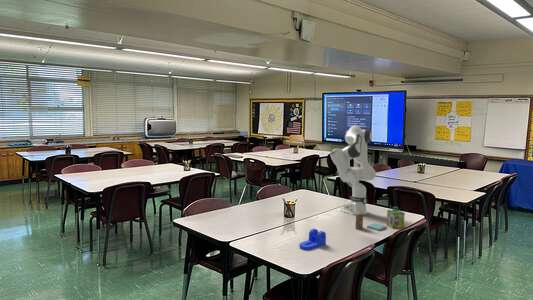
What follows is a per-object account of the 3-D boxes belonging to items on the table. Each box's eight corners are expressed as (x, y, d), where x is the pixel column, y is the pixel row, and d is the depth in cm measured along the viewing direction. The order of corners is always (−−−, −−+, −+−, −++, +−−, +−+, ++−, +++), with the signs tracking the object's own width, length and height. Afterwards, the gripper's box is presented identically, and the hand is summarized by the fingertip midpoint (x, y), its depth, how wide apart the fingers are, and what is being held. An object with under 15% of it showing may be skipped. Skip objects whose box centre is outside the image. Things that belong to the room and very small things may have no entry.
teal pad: (366, 227, 258) (366, 225, 257) (373, 225, 264) (373, 223, 264) (379, 230, 250) (379, 228, 250) (386, 228, 257) (386, 226, 257)
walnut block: (355, 228, 255) (356, 214, 254) (355, 226, 260) (355, 212, 259) (362, 229, 254) (363, 214, 253) (362, 227, 258) (363, 212, 257)
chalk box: (393, 228, 256) (394, 208, 255) (386, 225, 265) (386, 205, 264) (404, 227, 259) (405, 208, 257) (396, 224, 267) (397, 205, 266)
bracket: (315, 241, 229) (316, 227, 228) (325, 244, 223) (326, 230, 222) (296, 247, 217) (296, 233, 216) (306, 251, 211) (306, 236, 210)
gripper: (355, 166, 241) (365, 183, 241) (342, 168, 260) (351, 184, 261) (348, 170, 239) (358, 188, 239) (335, 172, 259) (344, 188, 259)
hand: (354, 186), depth 250 cm, fingers open, 8 cm apart
